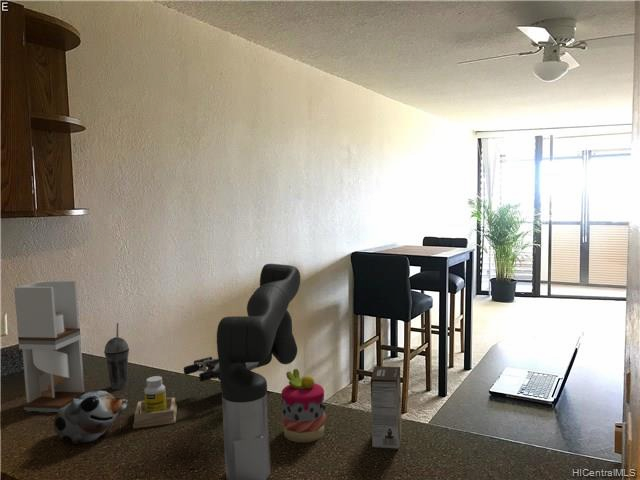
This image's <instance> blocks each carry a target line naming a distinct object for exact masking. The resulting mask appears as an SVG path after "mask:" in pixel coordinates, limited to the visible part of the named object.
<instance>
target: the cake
mask: <svg viewBox="0 0 640 480" xmlns="http://www.w3.org/2000/svg"><path fill="white" fill-rule="evenodd" d="M285 374H286V378H287V379H288V385H286V386H285V387H284V388H283V389H282V390H281V405H282V414H283V418H281V422H282V423H283V434H284V435H283V436H284V437H285V439H287V440H289V441H291V442H294V443H310V442H315V441H317V440H319V439H322V437H323V436H324V435H325V424H326V419H327V415H326V413H325V411H324V410H326V408H327V407H326V406H325V405H324V401H325V389H324V388H323V386H322V385H320V384H318V383H315V379H314V378H313V377H312V376H311V375H306V376H302V377H301V378H300V371H299V369H298V368H293V371H292V372H291V371H286V373H285Z"/></svg>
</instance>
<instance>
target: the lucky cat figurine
mask: <svg viewBox="0 0 640 480" xmlns="http://www.w3.org/2000/svg"><path fill="white" fill-rule="evenodd" d="M128 404H129V401H128V399H126V398H123V397H121V396H116V397H115V396H114V395H113V394H111V393H109V392H107V391H106V390H96V391H89V392H85V394H83V395H81V396H80V397H79V398H78V399H76V398H74V399H73V400H72V402H71V404H70V405H69V406H68V407H66V408H63V409H61V410H60V411H59V412H58V413H55V414H56V415H55V416H54V420H53V428H54V431H55V433H56V434H57V436H58V437H59V438H60V440H63V441H65V440H67V441H68V442H69V443H70V444H72V445H77V444H83V443H84V444H85V443H90V442H95V441H97V439H99V438H100V436H103V435H104V434H105V433H106V431H107V430H108V428H109V427H110V426H111V425H112V424H113V423H114V422H115V420H116V419H118V417H120V415H122V414H123V412H124V411H125V409H126V408H127V406H128Z"/></svg>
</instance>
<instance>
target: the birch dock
mask: <svg viewBox="0 0 640 480" xmlns="http://www.w3.org/2000/svg"><path fill="white" fill-rule="evenodd" d="M166 408H167V410H165V411H157V412H149V413H145V400H138V401H137V405H136V409H135V412H134V416H133V417H134V418H133V419H134V421H133V425H132V429H138V428H147V427H154V426H161V425H170V424H176V420H177V412H178V411H177V409H178V403H176V397H175V396H173V397H171V396H169V397H166Z"/></svg>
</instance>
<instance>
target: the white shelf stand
mask: <svg viewBox="0 0 640 480" xmlns="http://www.w3.org/2000/svg"><path fill="white" fill-rule="evenodd" d="M13 291H14V304H15V314H16V315H15V318H16V326H17V327H16V328H17V337H18V340H17V341H18V349H19V350H22V359H23V362H22V363H23V373H24V374H23V375H24V385H25V395H26V396H25V397H26V399H25V400H26V402H25V403H24V404H23V411H24V410H27V411H26V412H30V411H39V412H38V413H50V412H59V411H60V410H61V409H63V408H66V407H68V406H69V405H70V404H71V402H72V400H73V399H74V398H76V399H78V398H79V397H80V396H81V395H83V394H86V392H85V382H84V381H85V379H84V367H83V353H82V341H81V340H82V339H81V326H80V325H81V324H80V312H79V299H78V284H77V280H41V281H36V282H32V283H28V284H23V285H19V286H15V287H13Z"/></svg>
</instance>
